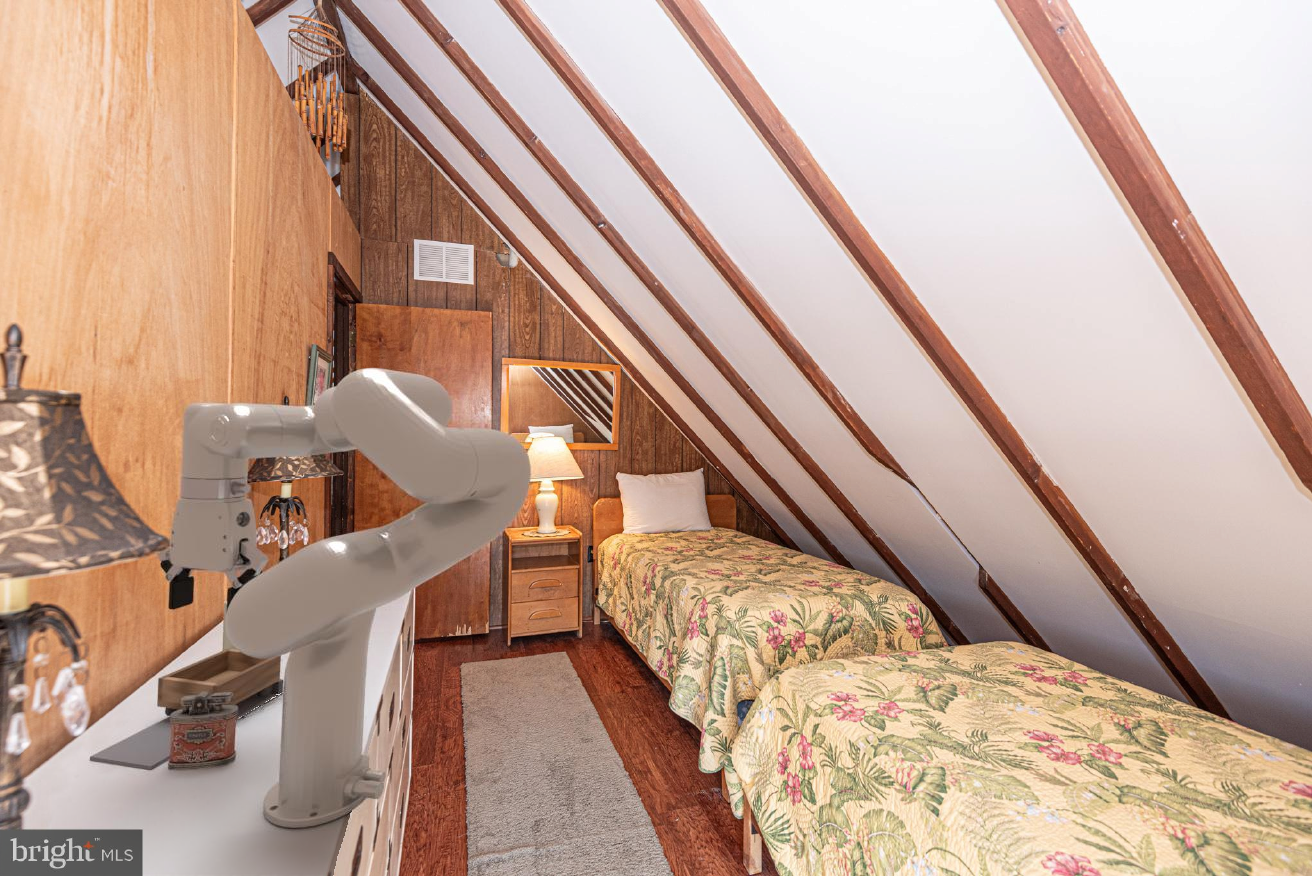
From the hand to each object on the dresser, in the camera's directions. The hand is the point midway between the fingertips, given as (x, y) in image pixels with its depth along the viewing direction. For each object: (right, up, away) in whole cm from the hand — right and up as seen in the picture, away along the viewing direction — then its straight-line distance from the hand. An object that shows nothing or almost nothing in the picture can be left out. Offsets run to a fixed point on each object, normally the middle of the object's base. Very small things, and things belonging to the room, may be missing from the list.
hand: (209, 609), depth 81 cm
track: (-10, -21, +10) cm, 26 cm away
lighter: (-1, -22, 0) cm, 22 cm away
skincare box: (-20, -21, +34) cm, 45 cm away
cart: (-9, -21, +15) cm, 28 cm away
